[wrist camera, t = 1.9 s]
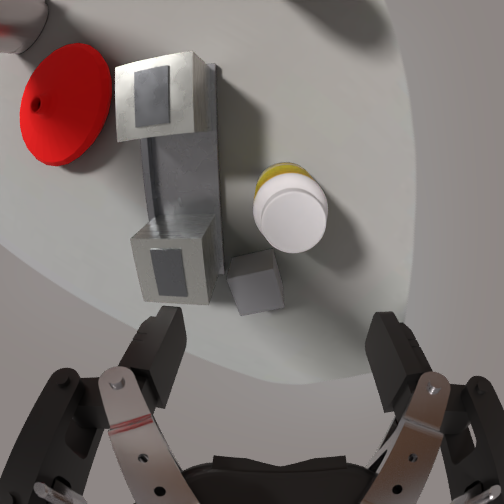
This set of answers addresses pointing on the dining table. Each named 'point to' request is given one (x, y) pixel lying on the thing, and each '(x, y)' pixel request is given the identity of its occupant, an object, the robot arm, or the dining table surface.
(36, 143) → the red disc with nozzle
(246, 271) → the gray block
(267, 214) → the pill bottle
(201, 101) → the white twin-block stand
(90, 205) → the dining table surface
